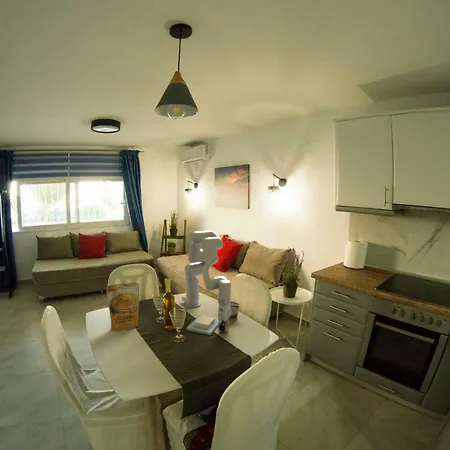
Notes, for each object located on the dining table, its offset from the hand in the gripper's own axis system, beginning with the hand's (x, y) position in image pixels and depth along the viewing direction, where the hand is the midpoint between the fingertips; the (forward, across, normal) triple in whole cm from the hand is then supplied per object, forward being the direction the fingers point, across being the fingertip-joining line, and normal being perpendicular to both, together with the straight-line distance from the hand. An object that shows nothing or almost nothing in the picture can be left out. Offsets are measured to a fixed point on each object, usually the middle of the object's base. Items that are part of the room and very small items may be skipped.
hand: (223, 328), depth 176 cm
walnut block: (+1, 0, 0) cm, 1 cm away
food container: (+2, +20, +3) cm, 20 cm away
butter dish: (+2, +2, +14) cm, 14 cm away
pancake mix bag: (+3, -19, +59) cm, 62 cm away
